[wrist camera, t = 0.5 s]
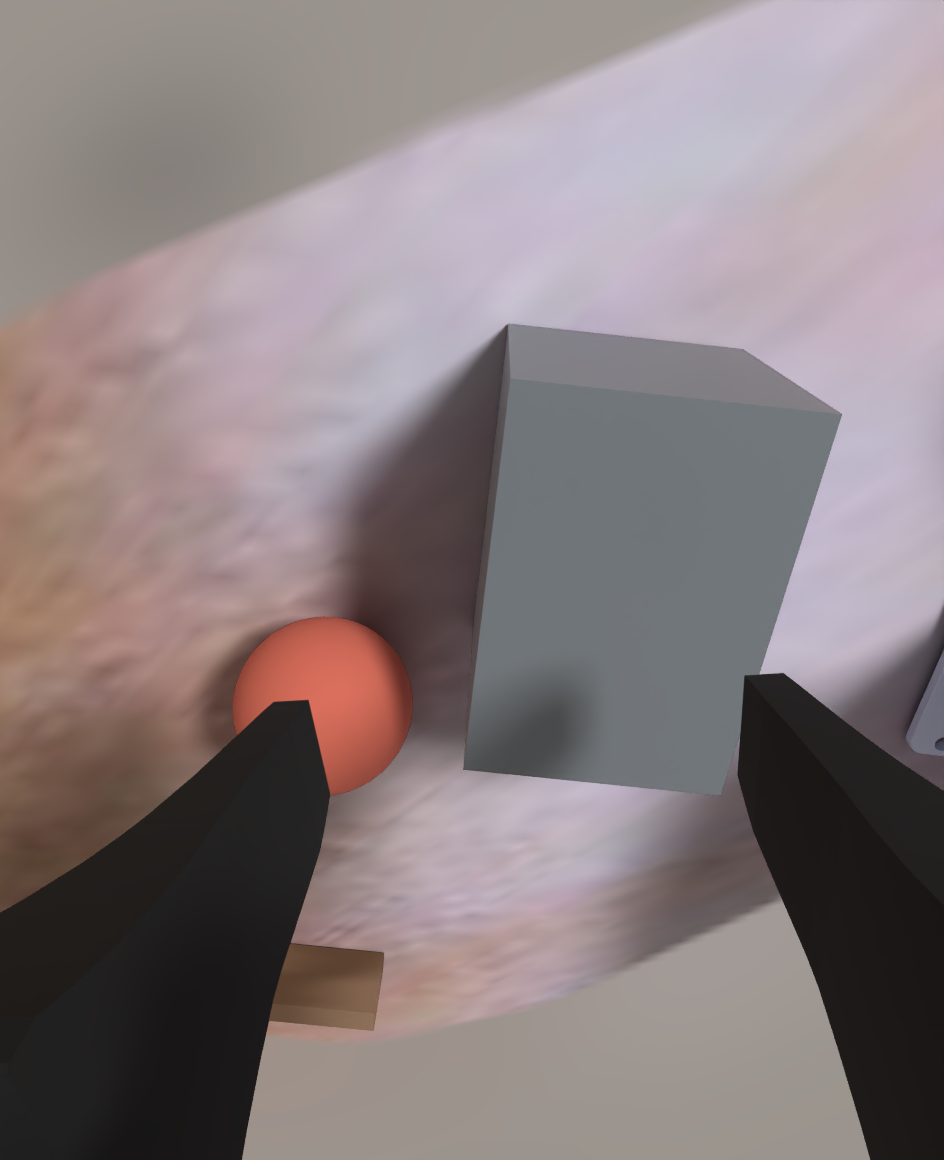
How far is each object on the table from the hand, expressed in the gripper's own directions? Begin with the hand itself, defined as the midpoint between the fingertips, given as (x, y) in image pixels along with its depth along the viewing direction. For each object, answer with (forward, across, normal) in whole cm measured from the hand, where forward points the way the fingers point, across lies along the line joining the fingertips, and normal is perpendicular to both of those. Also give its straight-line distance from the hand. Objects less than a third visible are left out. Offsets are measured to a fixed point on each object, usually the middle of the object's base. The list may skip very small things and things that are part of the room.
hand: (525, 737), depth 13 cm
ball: (+8, +6, +4) cm, 10 cm away
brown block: (+10, +10, +18) cm, 23 cm away
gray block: (+10, -2, 0) cm, 10 cm away
